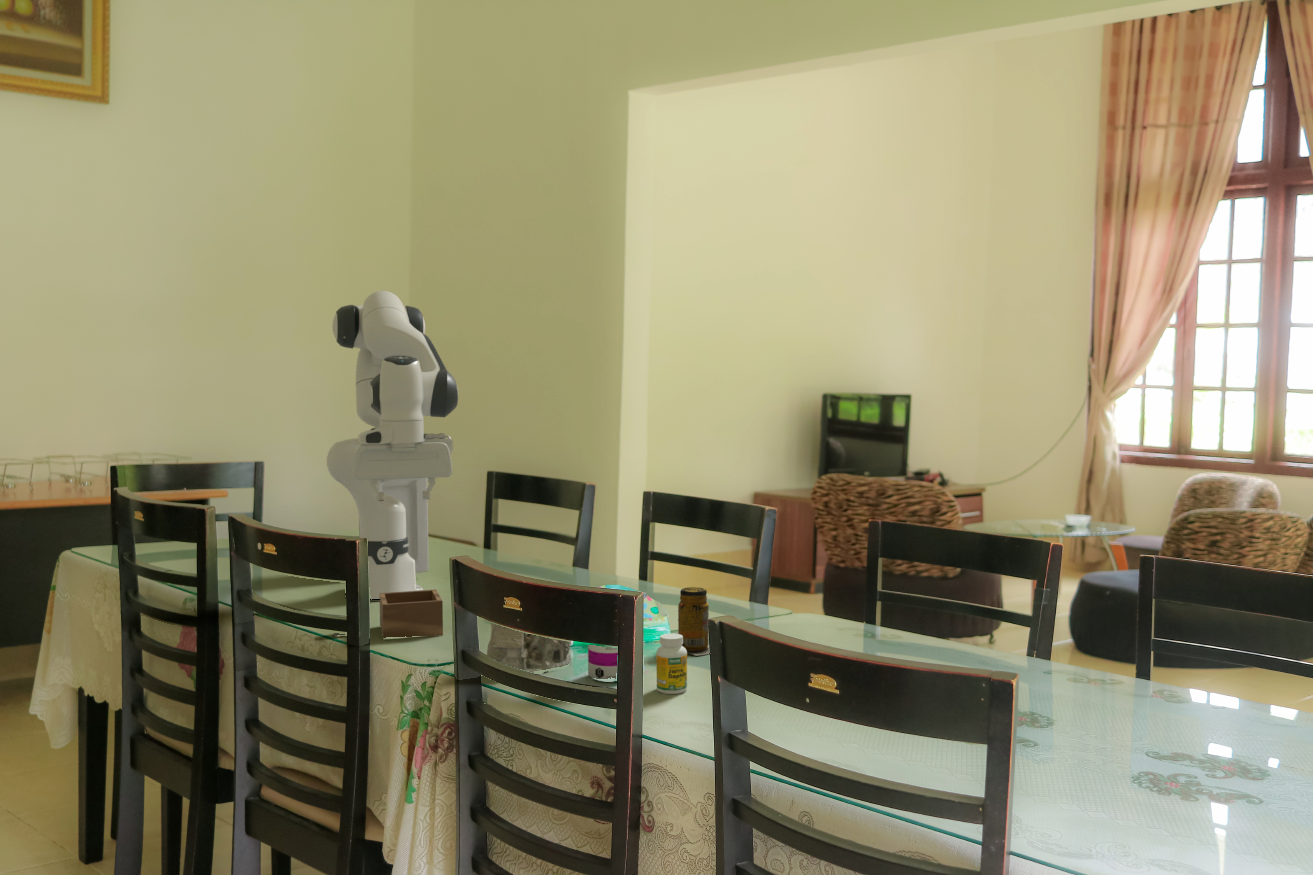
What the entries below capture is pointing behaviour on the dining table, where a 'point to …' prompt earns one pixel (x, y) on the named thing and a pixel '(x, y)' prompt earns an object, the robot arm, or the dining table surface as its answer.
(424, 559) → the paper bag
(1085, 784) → the dining table surface
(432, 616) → the box
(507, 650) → the ceramic cottage
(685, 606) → the condiment
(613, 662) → the supplement can
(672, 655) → the supplement bottle
